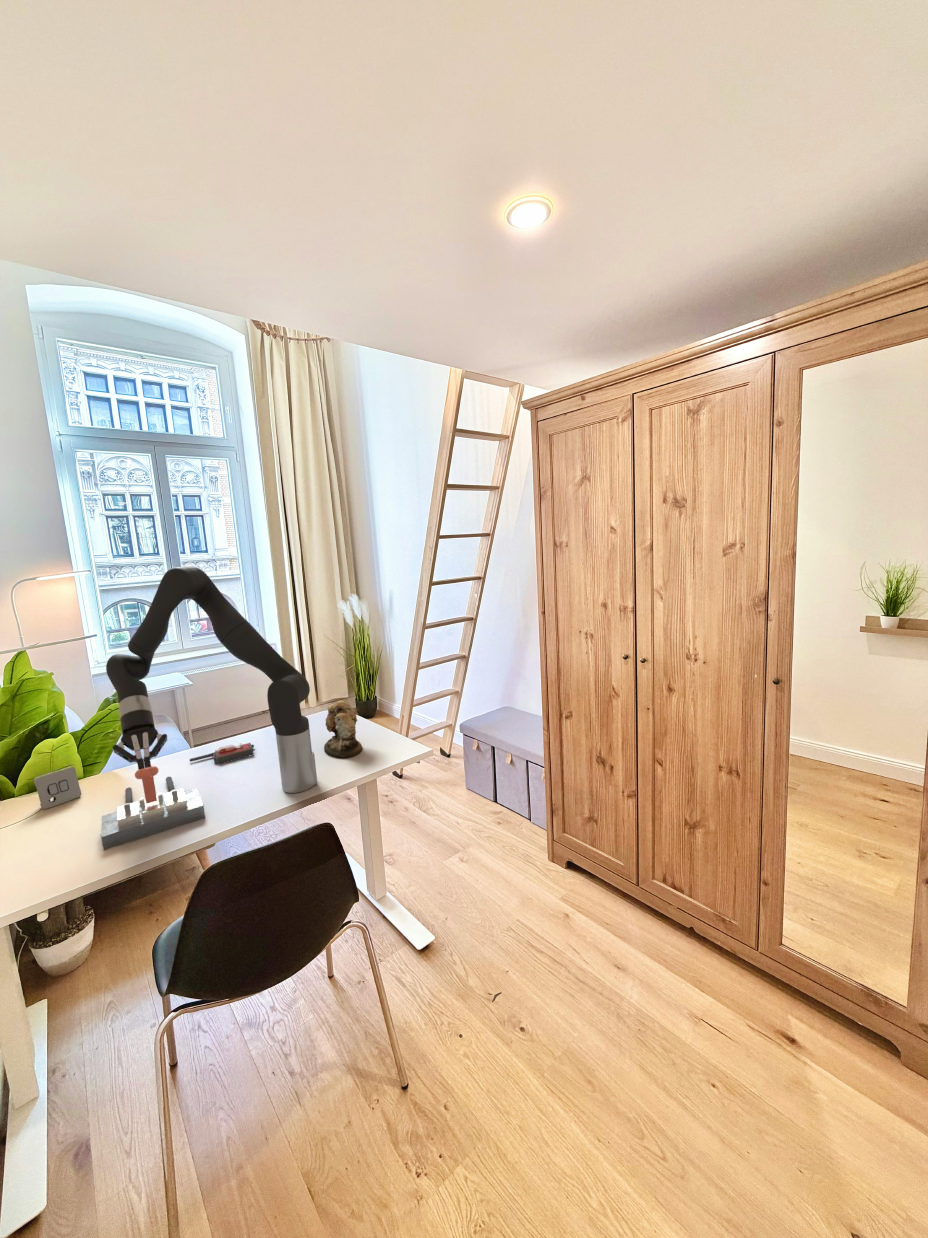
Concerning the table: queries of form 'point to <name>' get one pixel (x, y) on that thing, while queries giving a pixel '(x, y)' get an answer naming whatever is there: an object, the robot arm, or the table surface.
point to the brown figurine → (342, 731)
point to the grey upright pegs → (129, 791)
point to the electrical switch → (57, 787)
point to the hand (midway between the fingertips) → (145, 773)
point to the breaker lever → (148, 782)
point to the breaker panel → (151, 817)
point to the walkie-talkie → (228, 753)
